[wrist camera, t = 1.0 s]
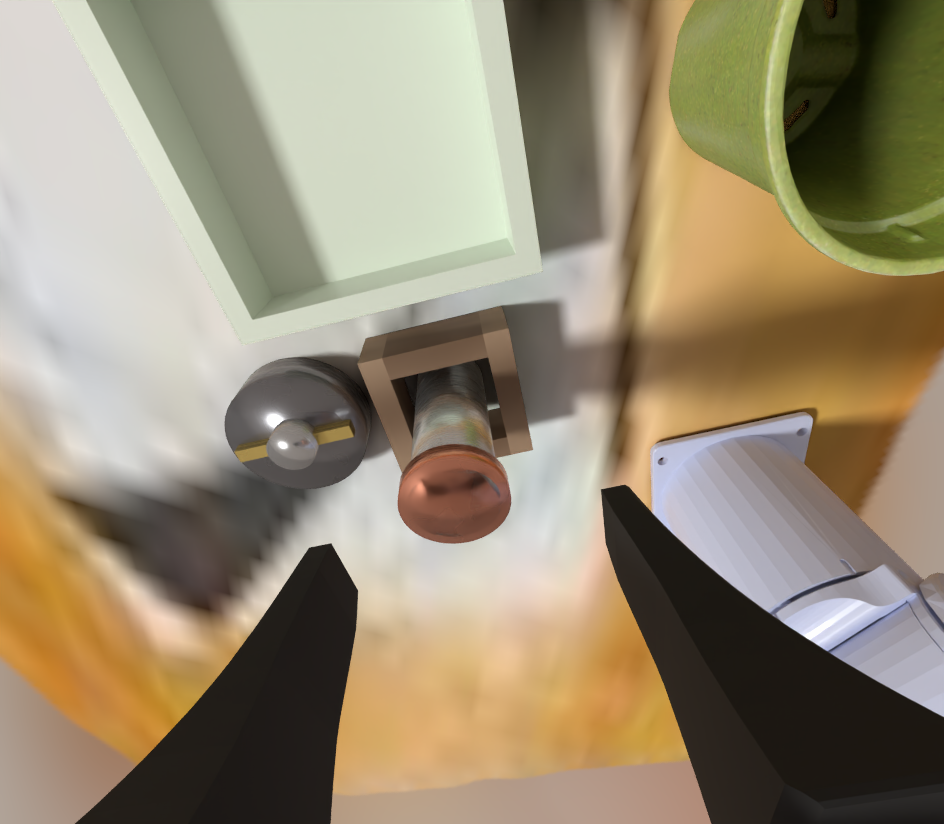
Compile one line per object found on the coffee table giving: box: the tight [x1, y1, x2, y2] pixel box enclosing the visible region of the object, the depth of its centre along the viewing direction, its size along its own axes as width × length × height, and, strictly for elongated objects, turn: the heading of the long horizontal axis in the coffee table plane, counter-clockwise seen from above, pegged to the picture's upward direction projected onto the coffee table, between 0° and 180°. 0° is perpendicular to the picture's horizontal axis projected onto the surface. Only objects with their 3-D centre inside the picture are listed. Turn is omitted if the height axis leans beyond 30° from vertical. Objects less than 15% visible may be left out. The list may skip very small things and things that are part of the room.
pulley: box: [225, 358, 371, 489], centre depth 21 cm, size 6×6×3 cm
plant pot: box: [669, 0, 944, 276], centre depth 12 cm, size 9×9×9 cm
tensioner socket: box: [358, 306, 533, 473], centre depth 21 cm, size 6×6×2 cm
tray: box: [52, 0, 543, 346], centre depth 15 cm, size 11×11×3 cm
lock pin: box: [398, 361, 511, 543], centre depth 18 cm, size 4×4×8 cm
